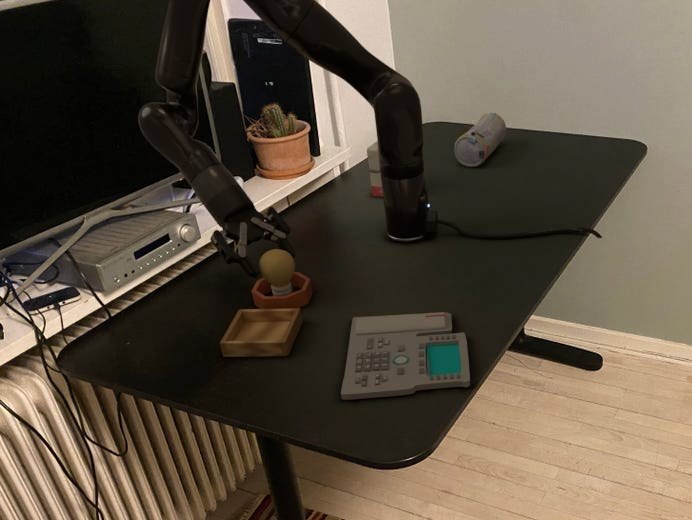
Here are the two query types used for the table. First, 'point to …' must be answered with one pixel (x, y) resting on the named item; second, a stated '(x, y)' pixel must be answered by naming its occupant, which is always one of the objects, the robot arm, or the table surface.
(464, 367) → the office telephone
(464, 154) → the pencil case
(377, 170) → the ink box
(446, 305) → the table surface
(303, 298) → the orange octagonal ring
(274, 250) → the light bulb
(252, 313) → the tray
